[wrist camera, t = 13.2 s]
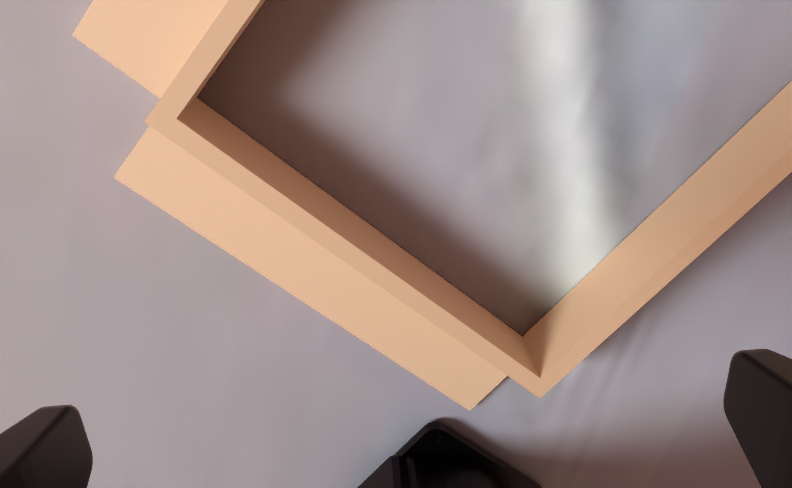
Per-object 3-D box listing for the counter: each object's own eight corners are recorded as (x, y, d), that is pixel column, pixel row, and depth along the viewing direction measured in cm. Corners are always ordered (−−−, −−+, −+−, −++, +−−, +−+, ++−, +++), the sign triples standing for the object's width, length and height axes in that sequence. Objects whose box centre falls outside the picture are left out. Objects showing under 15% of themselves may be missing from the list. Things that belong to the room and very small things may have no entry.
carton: (956, -52, 19) (1038, -51, 17) (468, 405, 25) (480, 452, 23) (523, -690, 13) (559, -820, 11) (25, 114, 19) (-17, 138, 17)
